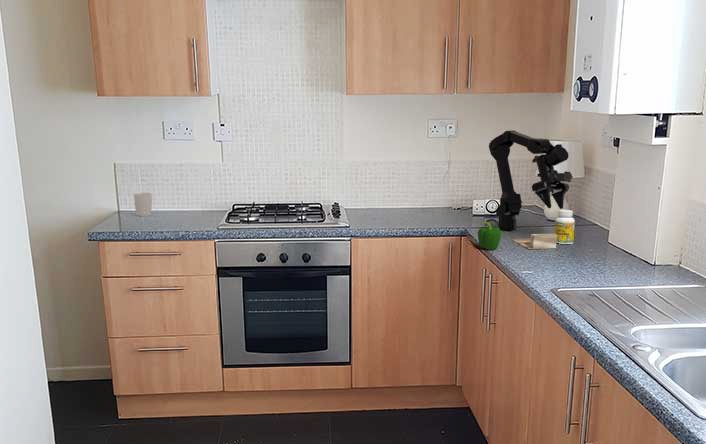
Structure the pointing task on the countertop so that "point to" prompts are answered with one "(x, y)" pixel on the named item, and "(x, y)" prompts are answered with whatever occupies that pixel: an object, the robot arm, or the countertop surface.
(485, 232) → the bell pepper
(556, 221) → the supplement bottle
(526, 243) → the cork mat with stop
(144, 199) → the white cup
